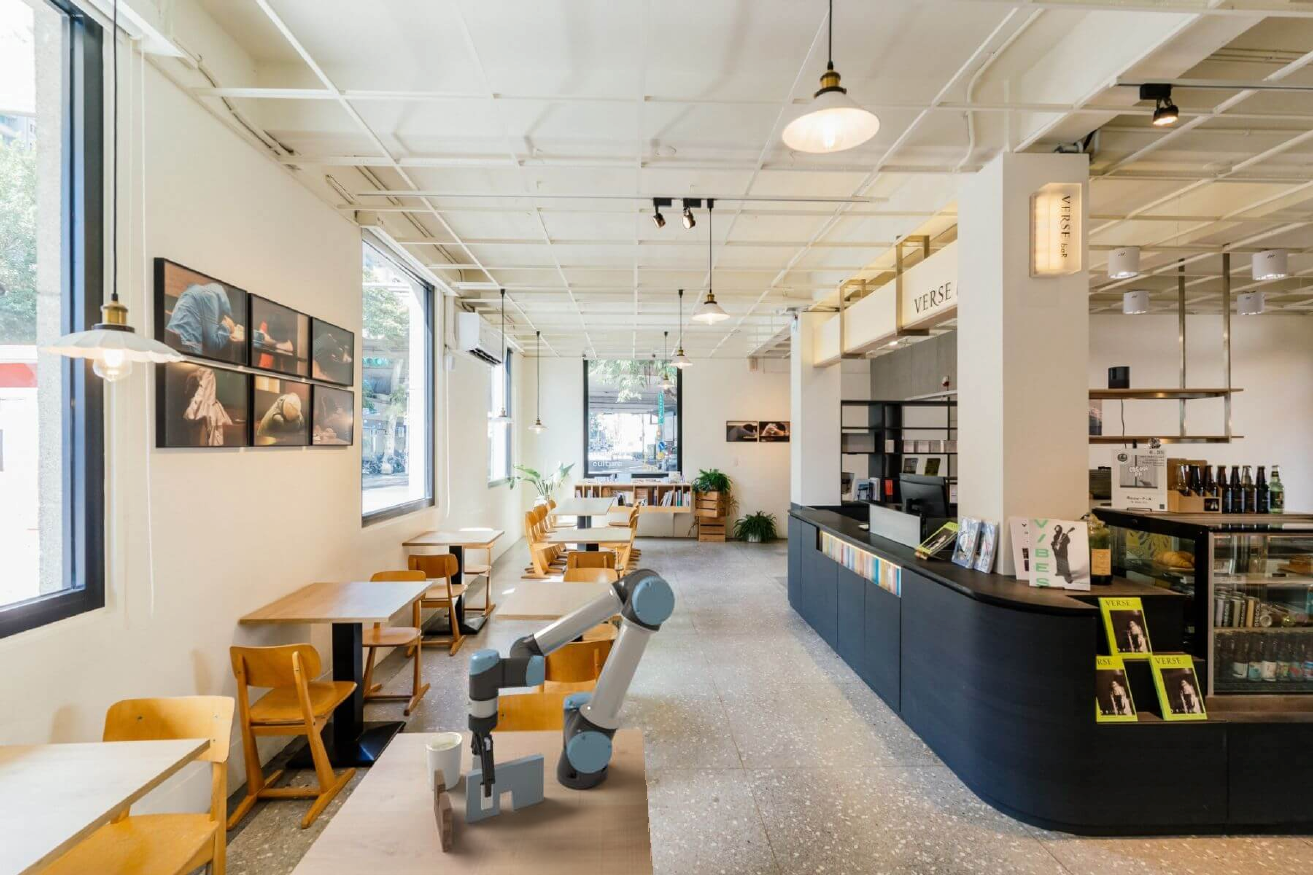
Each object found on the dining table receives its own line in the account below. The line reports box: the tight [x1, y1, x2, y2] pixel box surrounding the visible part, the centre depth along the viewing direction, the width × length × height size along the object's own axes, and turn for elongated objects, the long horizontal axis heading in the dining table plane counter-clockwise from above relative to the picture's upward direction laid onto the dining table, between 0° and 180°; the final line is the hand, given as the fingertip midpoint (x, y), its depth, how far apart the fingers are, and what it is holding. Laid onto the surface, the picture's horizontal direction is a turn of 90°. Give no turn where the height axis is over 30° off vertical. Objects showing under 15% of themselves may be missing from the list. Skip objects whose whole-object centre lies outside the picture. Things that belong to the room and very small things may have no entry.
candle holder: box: [425, 731, 464, 791], centre depth 164 cm, size 10×10×12 cm
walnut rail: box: [433, 769, 453, 852], centre depth 145 cm, size 2×18×10 cm, turn 27°
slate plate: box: [465, 752, 545, 824], centre depth 152 cm, size 20×2×12 cm, turn 118°
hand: (481, 792), depth 149 cm, fingers open, 13 cm apart
